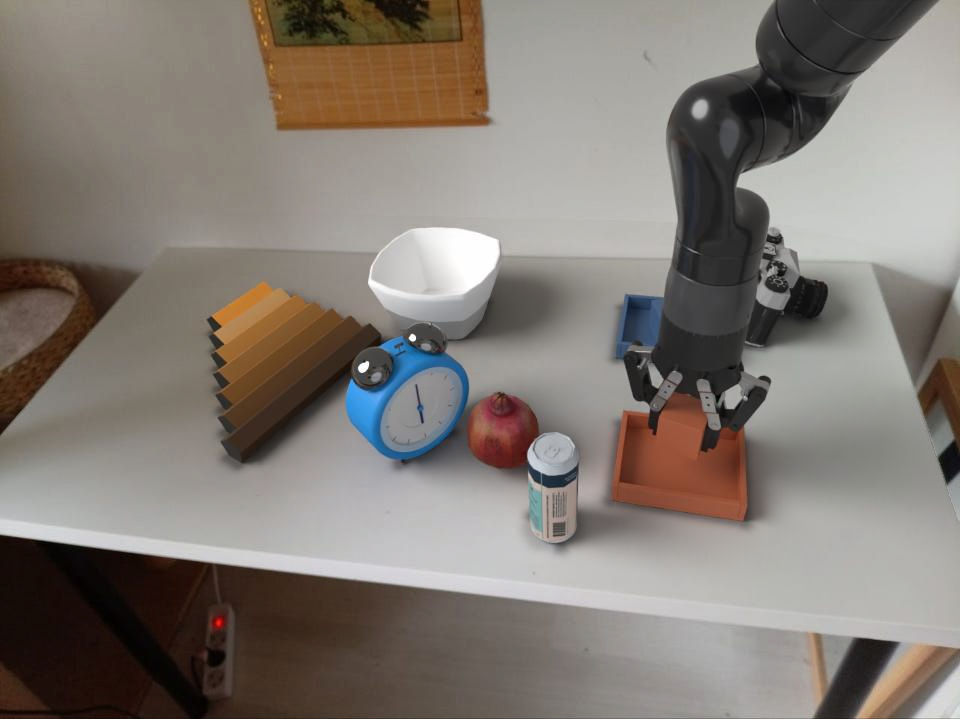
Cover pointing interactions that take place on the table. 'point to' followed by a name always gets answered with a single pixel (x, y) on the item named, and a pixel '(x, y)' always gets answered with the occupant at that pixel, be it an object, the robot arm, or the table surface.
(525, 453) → the fruit
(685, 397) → the terracotta block
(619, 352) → the blue tray
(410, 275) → the bowl
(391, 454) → the alarm clock
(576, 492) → the beer can
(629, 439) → the terracotta tray
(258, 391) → the pan flute
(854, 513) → the table surface
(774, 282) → the camera
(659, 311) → the blue block
